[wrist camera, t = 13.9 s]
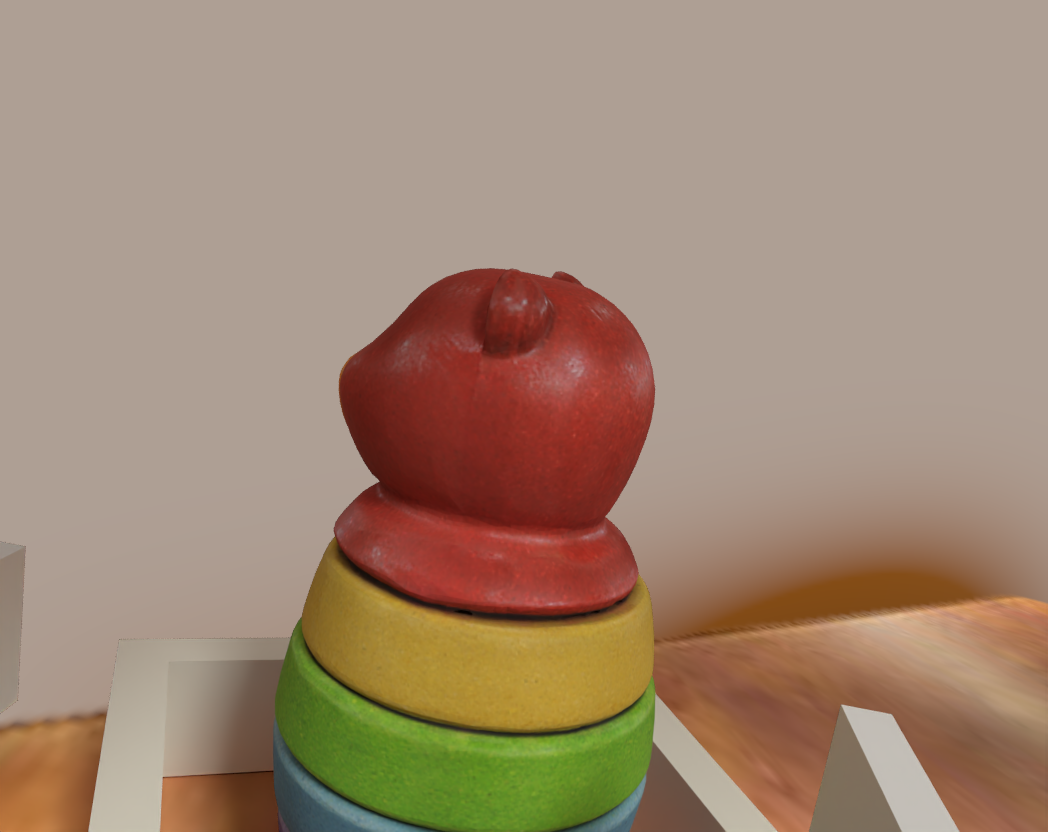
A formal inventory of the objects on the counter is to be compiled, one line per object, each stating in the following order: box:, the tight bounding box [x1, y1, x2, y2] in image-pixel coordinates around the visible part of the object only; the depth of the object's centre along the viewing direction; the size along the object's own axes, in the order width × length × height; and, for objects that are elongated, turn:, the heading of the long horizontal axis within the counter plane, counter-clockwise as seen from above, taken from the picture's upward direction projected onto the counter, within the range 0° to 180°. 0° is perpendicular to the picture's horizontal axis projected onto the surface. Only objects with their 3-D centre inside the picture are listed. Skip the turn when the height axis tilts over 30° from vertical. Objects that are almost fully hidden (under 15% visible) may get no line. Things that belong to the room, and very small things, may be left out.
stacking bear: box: [273, 268, 655, 832], centre depth 23 cm, size 11×10×18 cm
